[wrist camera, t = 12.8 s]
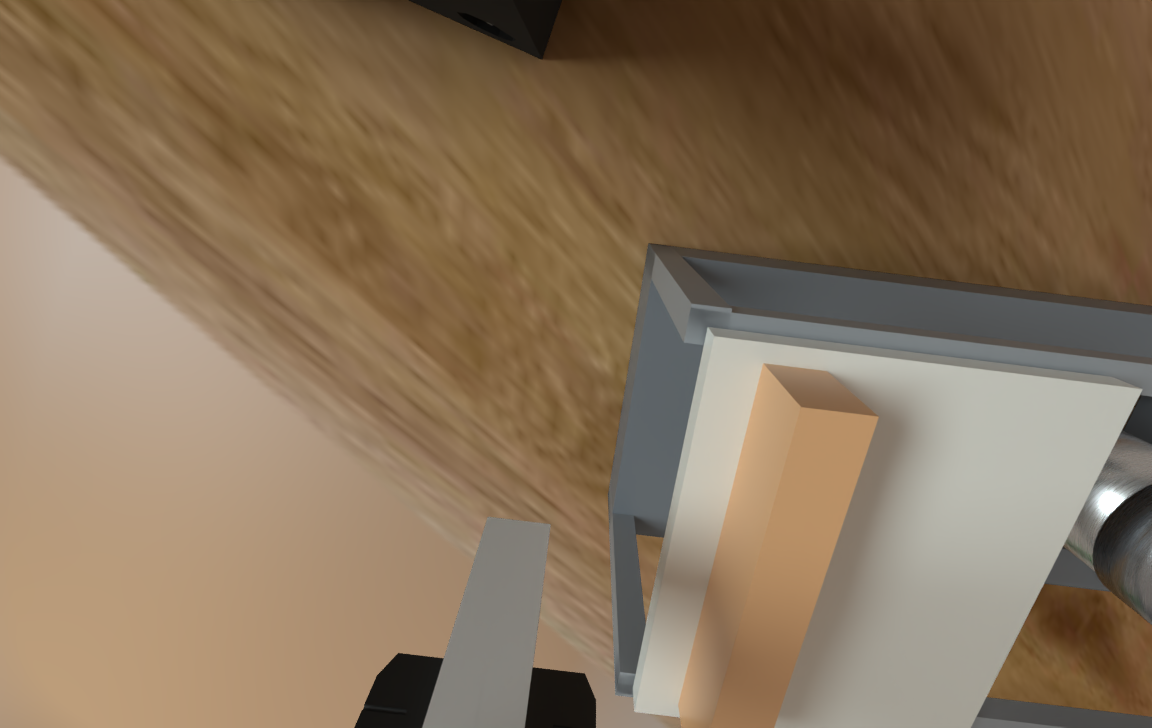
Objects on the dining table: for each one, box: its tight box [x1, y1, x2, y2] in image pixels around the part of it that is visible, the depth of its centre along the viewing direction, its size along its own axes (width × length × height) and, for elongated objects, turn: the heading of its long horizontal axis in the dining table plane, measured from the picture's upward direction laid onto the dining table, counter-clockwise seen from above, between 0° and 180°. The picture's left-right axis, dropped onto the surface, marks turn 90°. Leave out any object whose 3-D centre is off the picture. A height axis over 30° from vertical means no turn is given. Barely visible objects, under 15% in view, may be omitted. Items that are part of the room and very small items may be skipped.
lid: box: [633, 327, 1143, 728], centre depth 14 cm, size 12×10×3 cm
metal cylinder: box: [1063, 430, 1152, 625], centre depth 22 cm, size 5×5×10 cm
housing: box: [608, 243, 1152, 728], centre depth 21 cm, size 13×25×12 cm, turn 83°
